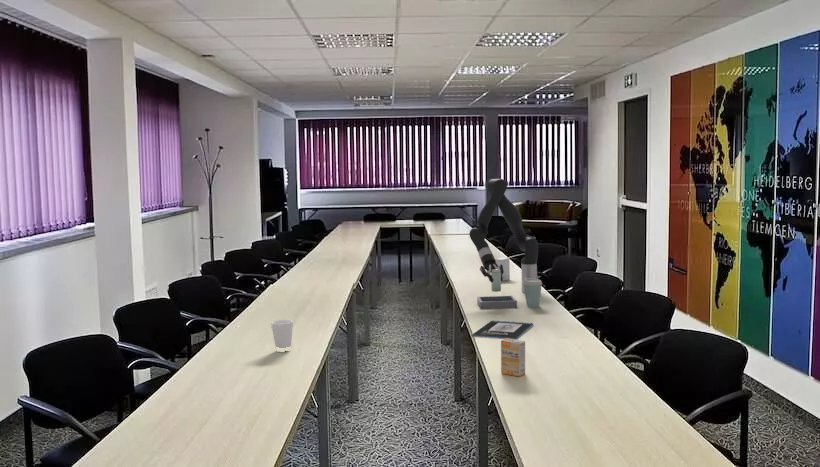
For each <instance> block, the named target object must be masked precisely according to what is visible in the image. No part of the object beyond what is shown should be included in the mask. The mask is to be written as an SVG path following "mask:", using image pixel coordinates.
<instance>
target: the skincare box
mask: <svg viewBox="0 0 820 467" xmlns="http://www.w3.org/2000/svg"><path fill="white" fill-rule="evenodd" d="M495 261H496V264H497V265H501V264H502V265H503V271H504V273H503V275H502V277H503V280H502V281H501V282H504V281H508V280H510V279H511V278H510V277H511V275H510V258H509V257H505V256H503V257H499V258H495ZM497 268H498V267H497ZM498 269H499V268H498Z"/></svg>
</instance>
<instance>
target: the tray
mask: <svg viewBox="0 0 820 467" xmlns="http://www.w3.org/2000/svg"><path fill="white" fill-rule="evenodd" d="M476 298H477V300H476V301H477V304H478V306H479V308H480V310H481V309H502V308H503V309H504V308H505V309H506V308H507V309H509V308H518V302H517V300H516V299H515V298H516V297H515V296H513V295H494V296H492V295H491V296H487V295H486V296H477V297H476Z"/></svg>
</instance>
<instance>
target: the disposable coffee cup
mask: <svg viewBox="0 0 820 467" xmlns="http://www.w3.org/2000/svg"><path fill="white" fill-rule="evenodd" d="M523 285H524V291H525V292H524V296H525V297H524V298H525V301H526V306H527V307H528V308H538V307H539V306H540V302H541V301H540V300H541V293H542V285H543V282H542V280H541V279H539V278H538V279H532V278H526V279H524V281H523Z"/></svg>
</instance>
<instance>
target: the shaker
mask: <svg viewBox="0 0 820 467" xmlns="http://www.w3.org/2000/svg"><path fill="white" fill-rule="evenodd" d="M491 276H492V278H493V282H491V281H490V283H491V292H493V293H494V292H496V293H498V292H501V291H502V281H501V272H500V269H492V272H491Z"/></svg>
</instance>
